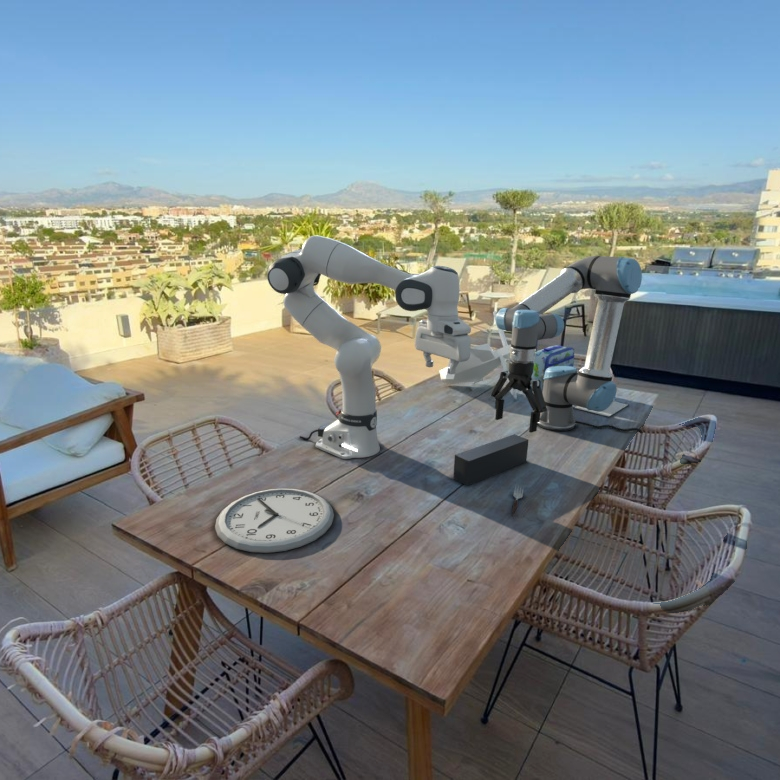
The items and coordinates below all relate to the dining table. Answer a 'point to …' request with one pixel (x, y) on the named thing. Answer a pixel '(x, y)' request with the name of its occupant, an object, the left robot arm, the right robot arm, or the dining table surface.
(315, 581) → the dining table surface
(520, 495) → the fork
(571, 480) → the dining table surface
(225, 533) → the wall clock
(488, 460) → the bar
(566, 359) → the lunch box
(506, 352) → the white plastic object
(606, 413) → the invitation card
